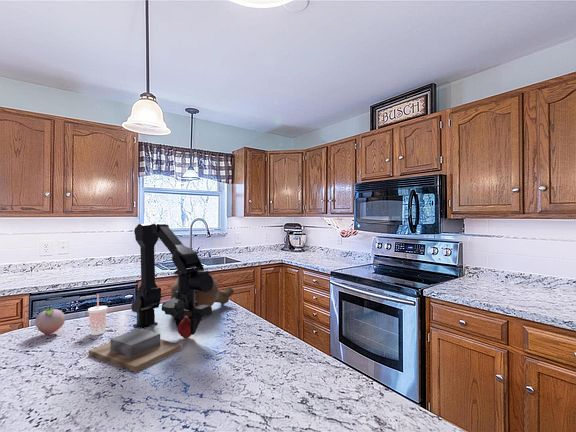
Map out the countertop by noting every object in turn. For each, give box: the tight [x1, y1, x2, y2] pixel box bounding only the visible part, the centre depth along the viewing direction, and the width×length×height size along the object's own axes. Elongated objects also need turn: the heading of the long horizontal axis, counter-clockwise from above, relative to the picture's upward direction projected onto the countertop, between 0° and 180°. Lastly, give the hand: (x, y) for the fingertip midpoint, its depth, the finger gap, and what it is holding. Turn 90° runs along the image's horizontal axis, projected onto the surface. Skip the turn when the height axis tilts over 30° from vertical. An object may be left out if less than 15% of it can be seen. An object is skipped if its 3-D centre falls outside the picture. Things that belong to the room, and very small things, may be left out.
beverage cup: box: [87, 293, 108, 336], centre depth 110 cm, size 6×6×14 cm
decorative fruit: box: [34, 306, 66, 336], centre depth 108 cm, size 9×8×10 cm
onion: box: [177, 316, 193, 340], centre depth 105 cm, size 6×6×8 cm
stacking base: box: [88, 328, 182, 373], centre depth 94 cm, size 22×16×5 cm
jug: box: [170, 277, 235, 317], centre depth 134 cm, size 20×20×30 cm
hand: (186, 332), depth 105 cm, fingers closed on onion, 6 cm apart
